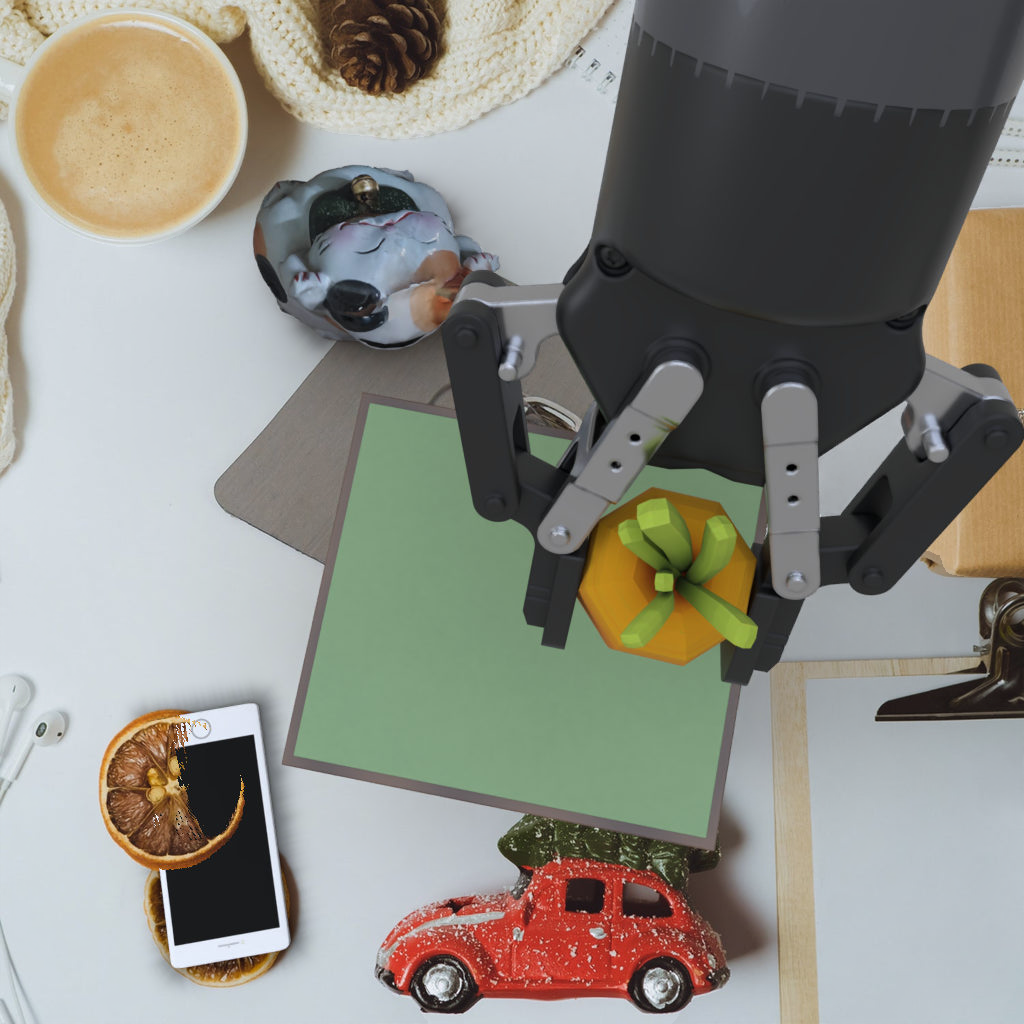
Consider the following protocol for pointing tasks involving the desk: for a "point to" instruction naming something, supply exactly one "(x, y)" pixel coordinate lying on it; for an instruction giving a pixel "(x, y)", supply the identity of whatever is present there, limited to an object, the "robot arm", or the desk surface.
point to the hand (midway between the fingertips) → (644, 644)
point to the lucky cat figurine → (364, 255)
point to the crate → (461, 794)
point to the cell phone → (226, 846)
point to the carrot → (668, 578)
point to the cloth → (499, 650)
